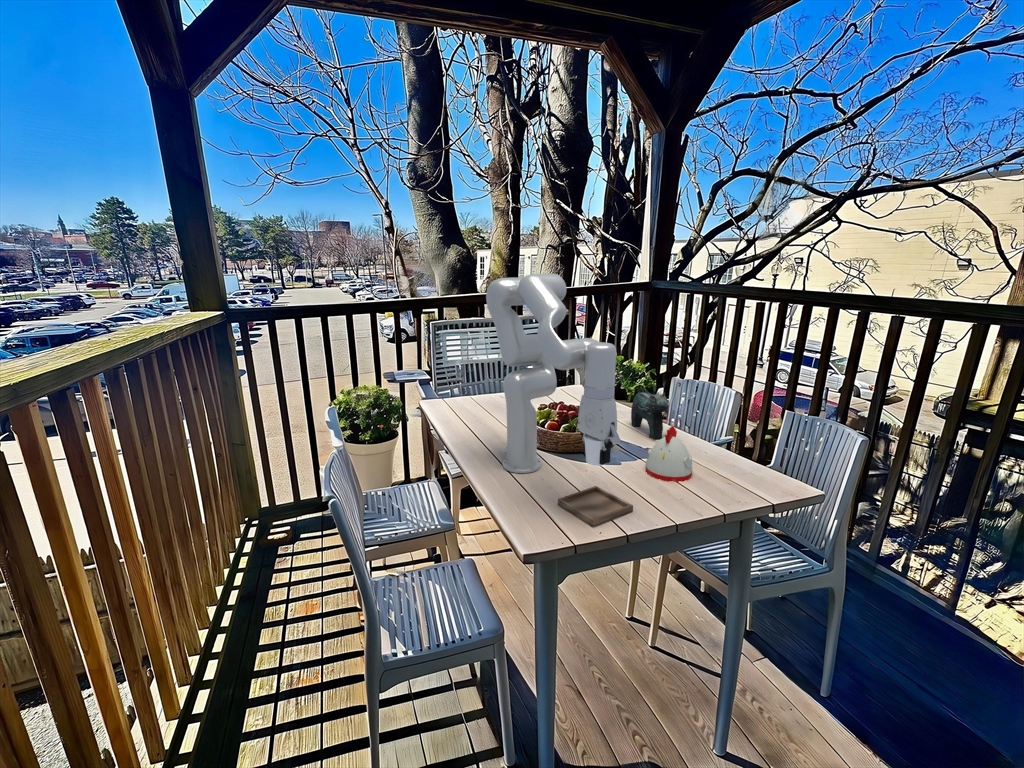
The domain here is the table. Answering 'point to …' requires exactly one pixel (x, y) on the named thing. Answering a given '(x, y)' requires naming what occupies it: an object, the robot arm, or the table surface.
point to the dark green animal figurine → (649, 412)
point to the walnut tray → (595, 506)
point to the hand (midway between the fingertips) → (596, 459)
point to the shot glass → (593, 450)
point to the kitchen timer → (669, 459)
